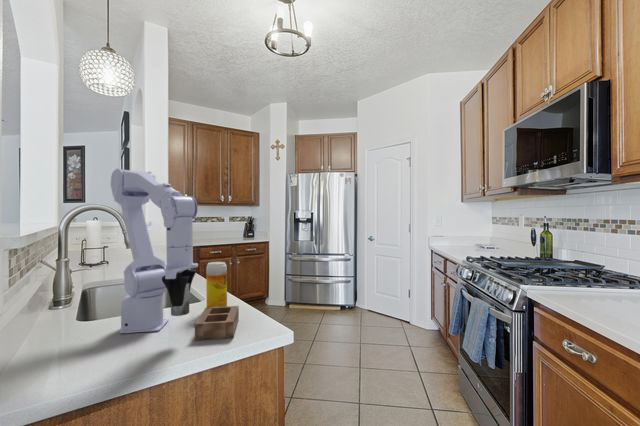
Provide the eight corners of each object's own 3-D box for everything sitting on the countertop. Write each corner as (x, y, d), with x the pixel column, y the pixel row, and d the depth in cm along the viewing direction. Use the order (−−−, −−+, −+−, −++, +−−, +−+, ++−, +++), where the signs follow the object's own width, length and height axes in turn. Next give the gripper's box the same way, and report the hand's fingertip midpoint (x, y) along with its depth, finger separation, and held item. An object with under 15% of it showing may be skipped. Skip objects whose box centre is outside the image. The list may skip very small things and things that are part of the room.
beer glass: (223, 313, 93) (223, 264, 93) (203, 313, 93) (203, 264, 93) (229, 307, 99) (229, 261, 99) (211, 307, 99) (210, 261, 99)
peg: (168, 316, 71) (168, 286, 71) (173, 311, 75) (173, 282, 75) (186, 315, 72) (186, 285, 72) (191, 310, 75) (190, 281, 75)
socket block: (194, 340, 74) (194, 324, 74) (205, 321, 86) (205, 307, 86) (233, 337, 75) (233, 321, 75) (238, 319, 88) (238, 305, 88)
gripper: (189, 249, 67) (189, 311, 67) (204, 242, 81) (204, 294, 81) (154, 250, 66) (155, 313, 66) (175, 243, 80) (176, 295, 80)
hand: (180, 302), depth 73 cm, fingers closed on peg, 4 cm apart
